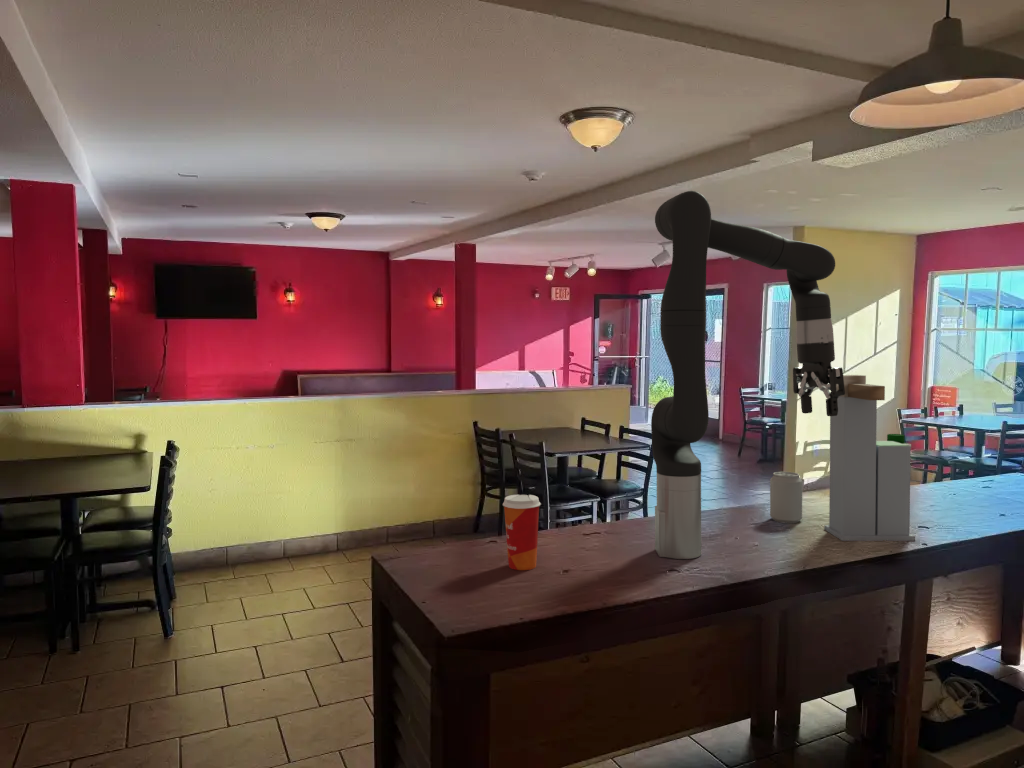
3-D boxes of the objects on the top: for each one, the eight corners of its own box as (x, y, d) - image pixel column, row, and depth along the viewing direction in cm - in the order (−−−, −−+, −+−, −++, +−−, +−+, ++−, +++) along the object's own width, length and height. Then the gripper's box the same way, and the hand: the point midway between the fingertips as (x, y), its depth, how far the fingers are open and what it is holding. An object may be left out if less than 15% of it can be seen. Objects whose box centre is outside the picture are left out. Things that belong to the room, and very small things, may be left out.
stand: (841, 540, 159) (843, 398, 157) (824, 529, 169) (825, 395, 167) (915, 540, 158) (917, 397, 156) (893, 529, 168) (894, 394, 166)
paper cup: (507, 559, 148) (506, 493, 147) (543, 561, 146) (542, 494, 146) (500, 571, 140) (499, 501, 139) (538, 573, 139) (537, 502, 138)
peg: (865, 400, 150) (866, 377, 150) (835, 395, 166) (835, 375, 166) (889, 400, 150) (889, 377, 150) (856, 395, 166) (856, 374, 165)
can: (797, 525, 173) (797, 476, 172) (766, 521, 177) (766, 473, 177) (805, 519, 179) (806, 472, 178) (775, 515, 183) (775, 469, 183)
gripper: (780, 343, 161) (784, 414, 162) (820, 341, 147) (825, 418, 148) (809, 340, 162) (813, 410, 163) (852, 338, 149) (856, 415, 149)
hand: (819, 414), depth 155 cm, fingers open, 8 cm apart
